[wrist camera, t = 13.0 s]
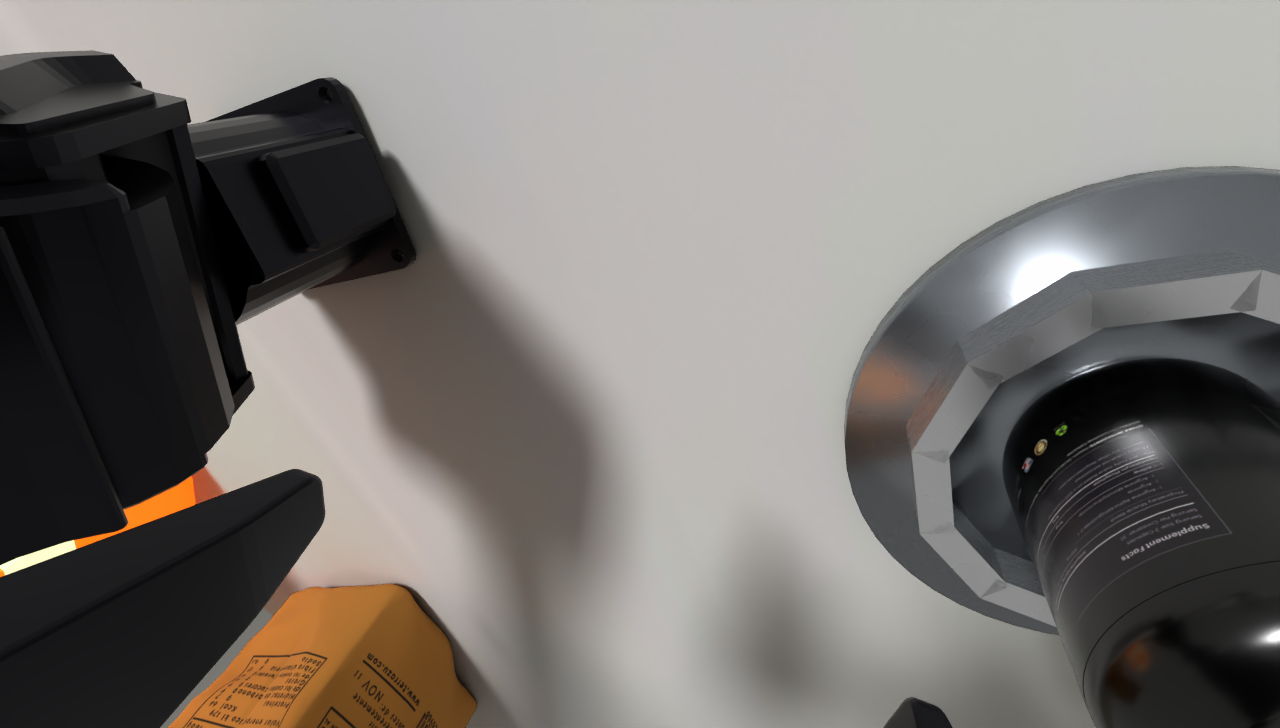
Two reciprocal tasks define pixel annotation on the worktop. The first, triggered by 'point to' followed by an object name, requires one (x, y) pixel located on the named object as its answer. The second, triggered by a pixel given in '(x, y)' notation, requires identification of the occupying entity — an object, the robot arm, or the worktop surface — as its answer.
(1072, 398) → the supplement bottle
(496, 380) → the worktop surface
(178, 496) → the orange juice
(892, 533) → the seat plate
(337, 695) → the coffee package
